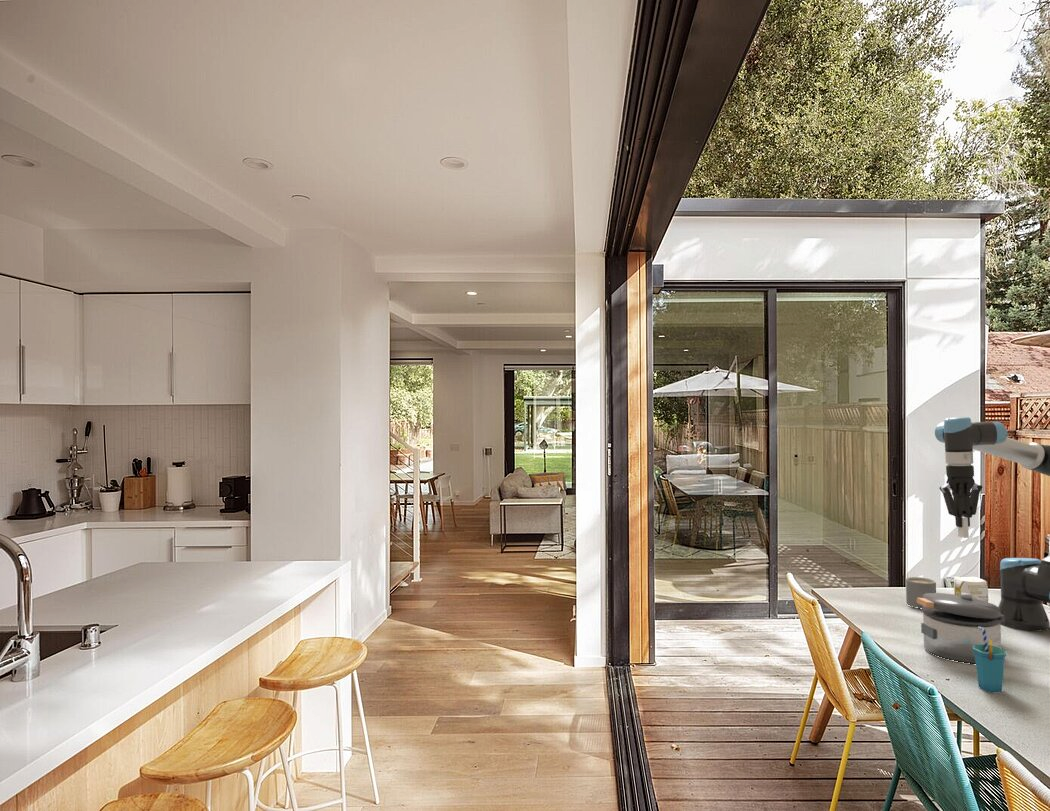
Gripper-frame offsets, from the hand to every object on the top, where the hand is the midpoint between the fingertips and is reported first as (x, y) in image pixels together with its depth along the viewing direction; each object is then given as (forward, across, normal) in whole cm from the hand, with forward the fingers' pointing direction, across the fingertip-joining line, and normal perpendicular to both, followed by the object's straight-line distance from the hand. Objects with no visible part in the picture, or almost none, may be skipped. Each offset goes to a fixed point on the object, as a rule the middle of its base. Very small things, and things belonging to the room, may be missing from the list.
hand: (963, 536), depth 210 cm
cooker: (+34, -9, -8) cm, 36 cm away
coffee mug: (+35, +11, +42) cm, 56 cm away
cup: (+34, -18, -33) cm, 51 cm away
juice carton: (+35, +6, +7) cm, 36 cm away
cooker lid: (+20, -9, -8) cm, 24 cm away
